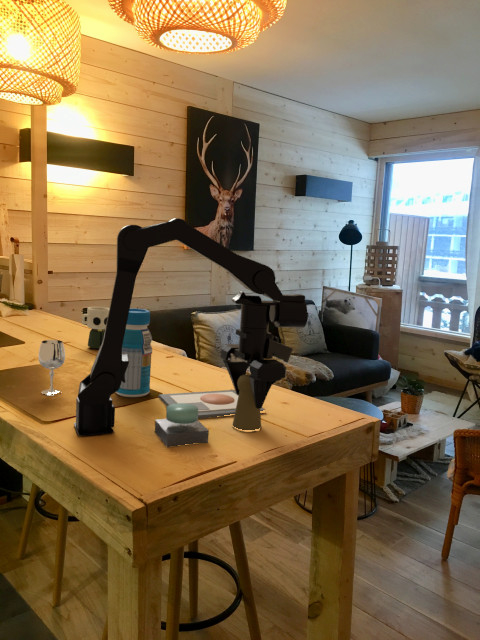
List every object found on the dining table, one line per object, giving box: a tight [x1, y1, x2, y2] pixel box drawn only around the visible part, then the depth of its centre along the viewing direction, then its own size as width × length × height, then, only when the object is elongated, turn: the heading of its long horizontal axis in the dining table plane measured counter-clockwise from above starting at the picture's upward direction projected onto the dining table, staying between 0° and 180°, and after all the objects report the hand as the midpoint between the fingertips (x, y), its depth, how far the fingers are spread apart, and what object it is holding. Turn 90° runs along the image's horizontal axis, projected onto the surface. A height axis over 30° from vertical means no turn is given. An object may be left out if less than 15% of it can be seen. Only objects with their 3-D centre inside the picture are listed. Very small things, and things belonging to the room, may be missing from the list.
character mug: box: [81, 306, 110, 349], centre depth 174 cm, size 11×7×13 cm, turn 124°
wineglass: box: [38, 339, 66, 396], centre depth 124 cm, size 6×6×12 cm
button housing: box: [154, 418, 210, 448], centre depth 103 cm, size 8×8×2 cm
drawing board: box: [158, 389, 266, 420], centre depth 124 cm, size 20×16×1 cm
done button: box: [165, 403, 199, 424], centre depth 103 cm, size 6×6×2 cm
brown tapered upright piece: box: [232, 373, 262, 430], centre depth 111 cm, size 6×6×11 cm
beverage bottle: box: [115, 308, 153, 398], centre depth 128 cm, size 8×8×20 cm
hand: (248, 401), depth 111 cm, fingers open, 9 cm apart
